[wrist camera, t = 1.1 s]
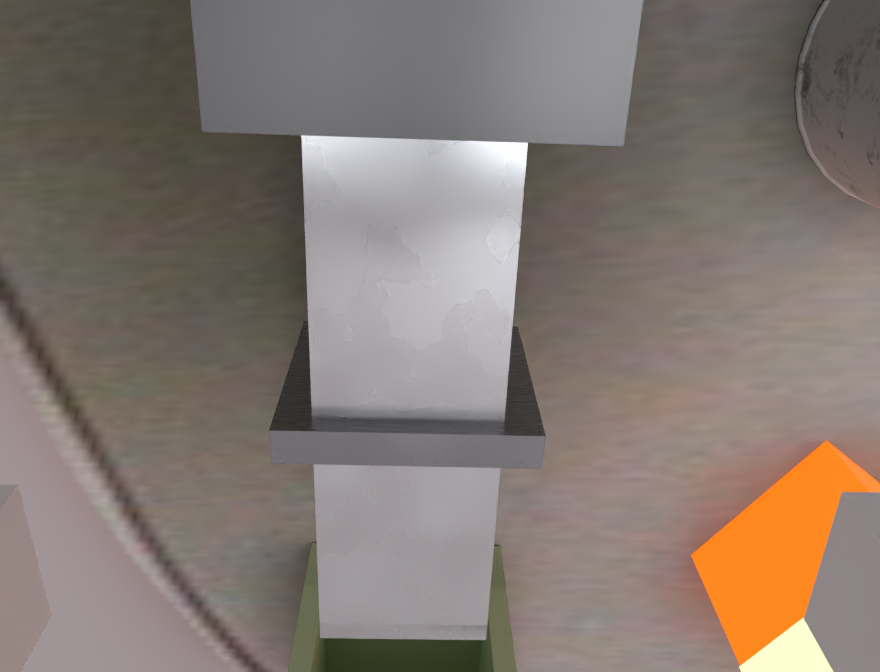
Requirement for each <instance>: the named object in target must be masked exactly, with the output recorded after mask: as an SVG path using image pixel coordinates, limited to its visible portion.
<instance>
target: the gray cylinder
mask: <svg viewBox="0 0 880 672" xmlns="http://www.w3.org/2000/svg"><path fill="white" fill-rule="evenodd" d="M795 102H796V112H797V123H798V127H799V130H800V133H801V135H802V138H803V141H804V144H805V147H806V150H807V152H808V154H809V155H810V157H811V158H812V160H813V161H814V163H815V164H816V165H817V167H818V168H819V170H820V171H821V173H822V174H823V175H824V176H825V177H826V178H827V179H828V180H829V181H831V182H832V183H833V184H834V185H836V186H837V187H838V188H839V189H840V190H842V191H843V192H844V193H845V194H847V195H849V196H852V197H854V198H856V199H859V200H861V201H863V202H865V203H868V204H870V205H872V206H874V207H876V208H878V209H880V0H824V1H823V3H822V5H821V6H820V8H819V10H818V12H817V13H816V15H815V17H814V19H813V20H812V22H811V25H810V27H809V30H808V33H807V36H806V39H805V42H804V45H803V48H802V51H801V54H800V57H799V62H798V70H797V78H796V86H795Z"/></svg>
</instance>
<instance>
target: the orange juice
mask: <svg viewBox="0 0 880 672" xmlns="http://www.w3.org/2000/svg"><path fill="white" fill-rule="evenodd" d="M842 492H880V483H879V482H877V481H876V480H875V479H874V478H872V477H871V476H870V475H869V474H867V473H866V472H865V471H864V470H862V469H861V468H860V467H859V466H858V465H856V464H855V463H854V462H853V461H851V460H850V459H849V458H848V457H846V456H845V455H844V454H843V453H842V452H840V451H839V450H838V449H837V448H835V447H834V446H833V445H832V444H830V443H829V442H828V441H827V440H826V441H825V442H824V443H823V444H821V445H820V446H819V447H818V448H817V449H816V450H814V451H813V452H812V453H811V454H810V455H808V456H807V457H806V458H805V459H804V460H803V461H801V462H800V463H799V464H798V465H797V466H796V467H794V468H793V469H792V470H791V471H790V472H788V473H787V474H786V475H785V476H784V477H783V478H781V479H780V480H779V481H778V482H777V483H776V484H774V485H773V486H772V487H771V488H770V489H768V490H767V491H766V492H765V493H764V494H763V495H761V496H760V497H759V498H758V499H757V500H755V501H754V502H753V503H752V504H751V505H750V506H748V507H747V508H746V509H745V510H744V511H743V512H741V513H740V514H739V515H738V516H737V517H735V518H734V519H733V520H732V521H731V522H730V523H728V524H727V525H726V526H725V527H724V528H723V529H721V530H720V531H719V532H718V533H717V534H715V535H714V536H713V537H712V538H711V539H710V540H708V541H707V542H706V543H705V544H704V545H703V546H701V547H700V548H699V549H698V550H697V551H695V552H694V553H693V554H692V555H691V556H692V559H693V561H694V563H695V565H696V568H697V570H698V572H699V574H700V577H701V579H702V581H703V583H704V586H705V588H706V590H707V592H708V595H709V597H710V599H711V601H712V604H713V606H714V608H715V610H716V613H717V615H718V617H719V619H720V622H721V624H722V626H723V628H724V631H725V633H726V635H727V637H728V640H729V642H730V644H731V646H732V649H733V651H734V653H735V655H736V658H737V660H738V662H739V664H740V667H739V668H740V670H741V672H833V670H832V668H831V667H830V665H829V663H828V661H827V659H826V658H825V656H824V654H823V652H822V650H821V649H820V647H819V645H818V643H817V642H816V640H815V638H814V636H813V634H812V633H811V631H810V629H809V627H808V625H807V624H806V622H805V620H804V616H805V613H806V609H807V606H808V603H809V599H810V596H811V593H812V589H813V586H814V583H815V579H816V576H817V573H818V569H819V566H820V563H821V559H822V556H823V553H824V549H825V546H826V543H827V540H828V536H829V533H830V530H831V526H832V523H833V520H834V516H835V513H836V510H837V506H838V503H839V500H840V496H841V493H842Z"/></svg>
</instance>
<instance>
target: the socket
mask: <svg viewBox="0 0 880 672" xmlns="http://www.w3.org/2000/svg"><path fill="white" fill-rule="evenodd" d="M288 672H517V671H516V663H515V655H514V648H513V640H512V632H511V625H510V617H509V609H508V601H507V594H506V586H505V578H504V571H503V563H502V555H501V548H500V546H494V551H493V563H492V575H491V587H490V599H489V611H488V623H487V634H486V640H431V639H350V638H320V620H319V593H318V566H317V543H312V545H311V550H310V555H309V560H308V566H307V571H306V576H305V582H304V587H303V592H302V598H301V603H300V608H299V614H298V619H297V624H296V630H295V635H294V640H293V646H292V651H291V656H290V662H289V667H288Z"/></svg>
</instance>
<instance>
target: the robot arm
mask: <svg viewBox="0 0 880 672" xmlns="http://www.w3.org/2000/svg"><path fill="white" fill-rule="evenodd" d="M51 616H52V615H51V612H50V607H49V604H48V600H47V596H46V592H45V589H44V585H43V580H42V576H41V573H40V569H39V565H38V561H37V557H36V553H35V549H34V546H33V542H32V538H31V534H30V530H29V526H28V522H27V518H26V515H25V511H24V507H23V503H22V499H21V495H20V492H19V488H18V485H0V672H20V671H21V670H22V667H23V666H24V664H25V662H26V661H27V659H28V657H29V655H30V653H31V651H32V650H33V648H34V646H35V644H36V642H37V641H38V639H39V637H40V635H41V633H42V632H43V630H44V628H45V626H46V625H47V623H48V621H49V619H50V617H51ZM804 620H805V622H806V624H807V625H808V627H809V629H810V631H811V633H812V634H813V636H814V638H815V640H816V642H817V643H818V645H819V647H820V649H821V650H822V652H823V654H824V656H825V658H826V659H827V661H828V663H829V665H830V667H831V668H832V670H833V672H880V492H842V493H841V496H840V500H839V503H838V506H837V510H836V513H835V516H834V520H833V523H832V526H831V530H830V533H829V536H828V540H827V543H826V546H825V549H824V553H823V556H822V559H821V563H820V566H819V569H818V573H817V576H816V579H815V583H814V586H813V589H812V593H811V596H810V599H809V603H808V606H807V609H806V613H805V616H804Z"/></svg>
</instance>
